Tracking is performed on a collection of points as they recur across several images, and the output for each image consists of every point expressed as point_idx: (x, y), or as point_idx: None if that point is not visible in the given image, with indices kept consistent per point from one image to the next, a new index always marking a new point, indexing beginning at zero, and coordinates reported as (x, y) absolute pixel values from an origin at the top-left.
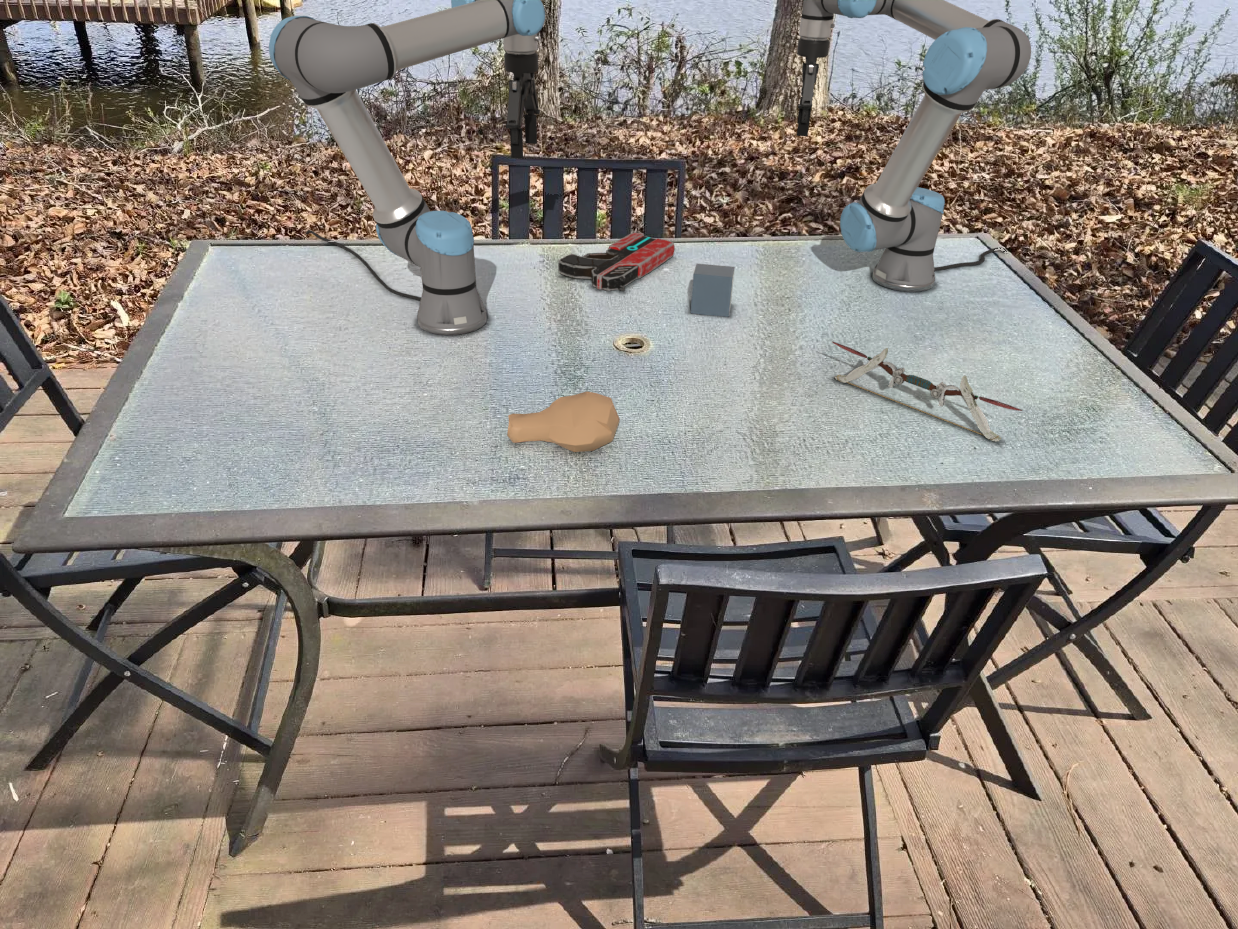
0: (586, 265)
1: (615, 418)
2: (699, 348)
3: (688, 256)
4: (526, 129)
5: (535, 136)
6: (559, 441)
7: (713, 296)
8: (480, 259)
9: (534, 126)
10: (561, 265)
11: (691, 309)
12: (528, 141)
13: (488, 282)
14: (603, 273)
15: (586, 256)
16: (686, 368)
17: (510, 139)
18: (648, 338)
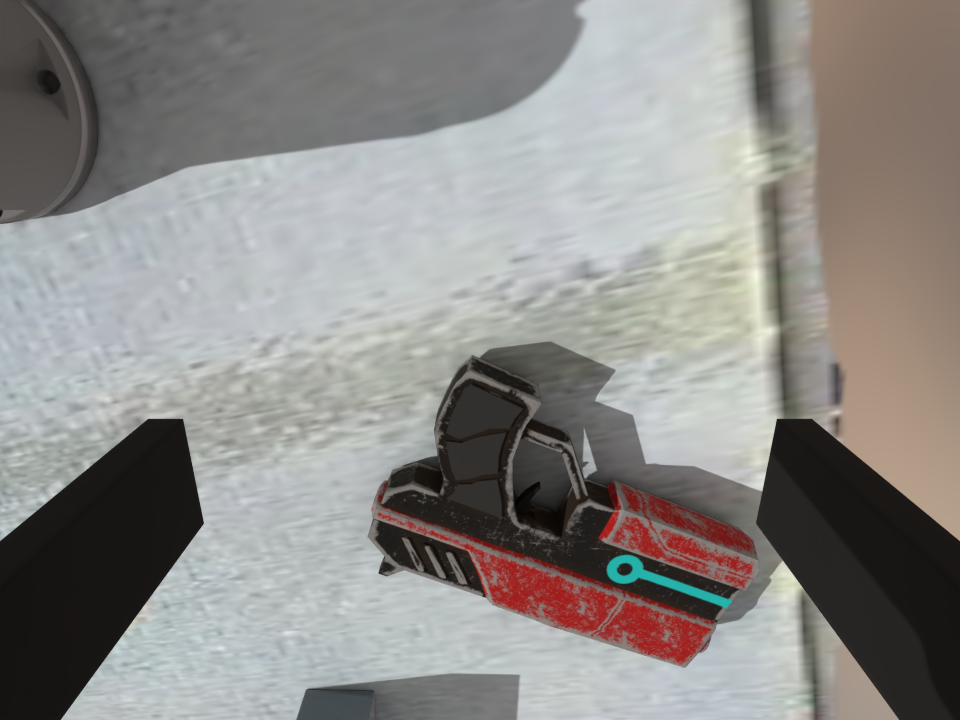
0: (447, 464)
1: None
2: (129, 715)
3: None
4: (863, 523)
5: (794, 567)
6: None
7: None
8: (572, 17)
9: (864, 654)
10: (456, 379)
11: (303, 699)
12: (779, 459)
13: (346, 126)
14: (390, 522)
15: (543, 445)
16: None
17: (4, 540)
18: (131, 626)
